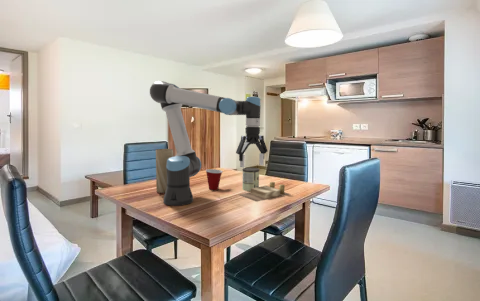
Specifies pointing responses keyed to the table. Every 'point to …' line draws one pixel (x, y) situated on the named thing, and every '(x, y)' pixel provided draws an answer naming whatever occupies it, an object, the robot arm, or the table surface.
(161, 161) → the tan tall block
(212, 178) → the plastic cup
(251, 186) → the coffee can
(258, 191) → the beige ridged square block
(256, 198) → the board
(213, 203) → the table surface
